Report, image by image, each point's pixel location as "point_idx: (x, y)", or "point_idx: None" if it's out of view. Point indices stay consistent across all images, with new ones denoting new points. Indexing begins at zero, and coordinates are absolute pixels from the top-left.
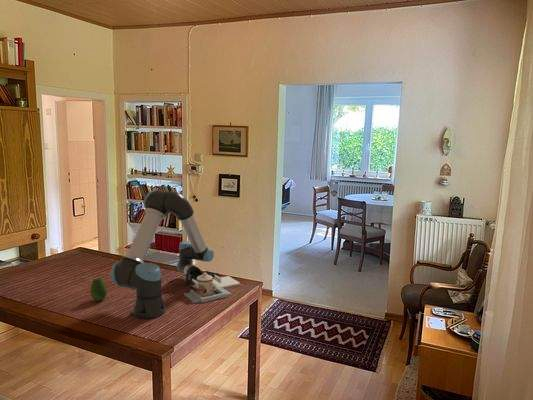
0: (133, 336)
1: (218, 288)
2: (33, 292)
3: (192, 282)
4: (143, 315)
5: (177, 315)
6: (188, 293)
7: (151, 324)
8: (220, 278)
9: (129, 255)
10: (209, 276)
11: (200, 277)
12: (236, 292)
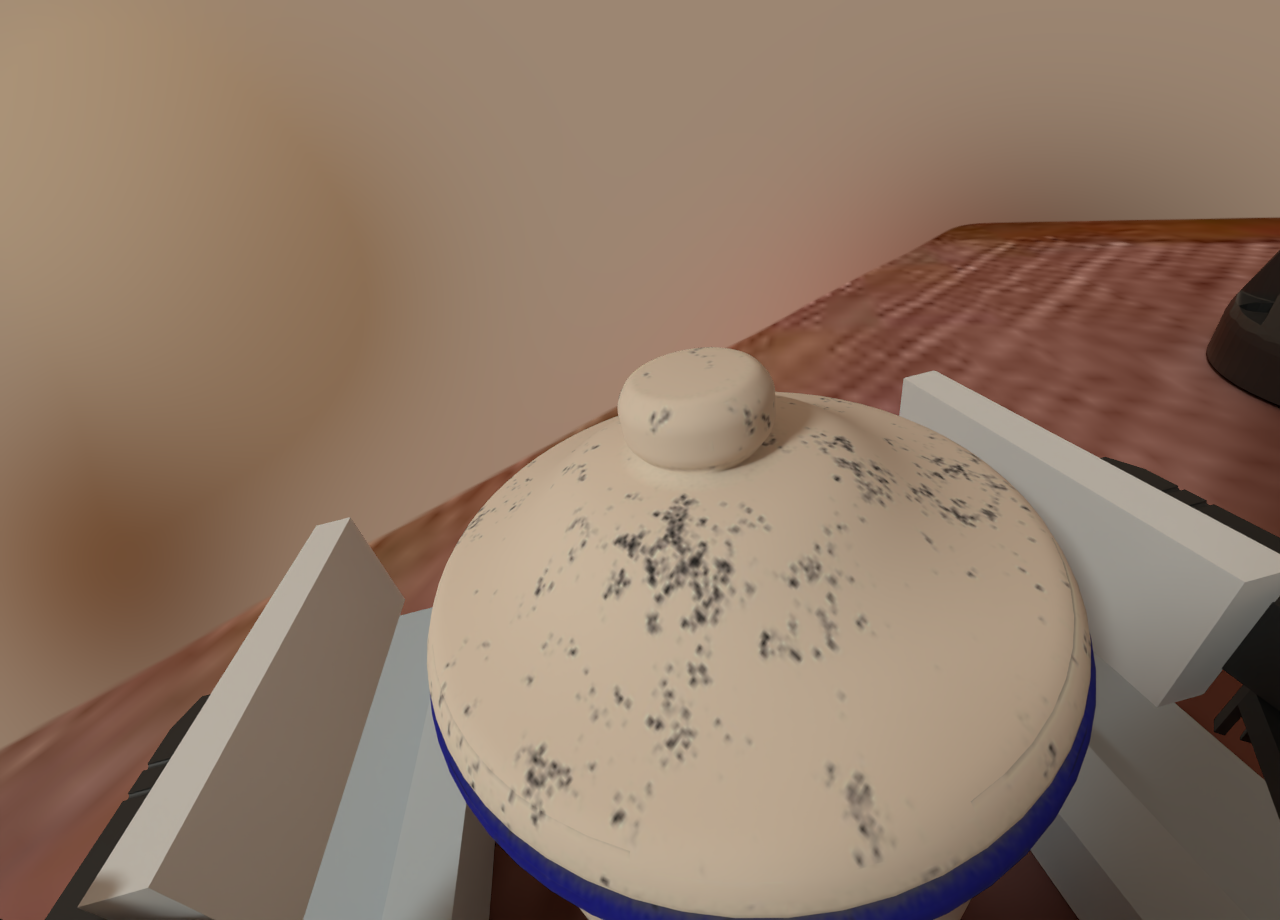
0: (1218, 237)
1: (440, 761)
2: None
3: (1127, 470)
4: None
5: (1027, 350)
6: (1218, 863)
7: (1194, 287)
8: (333, 526)
9: None
10: (568, 454)
11: (877, 433)
12: None
